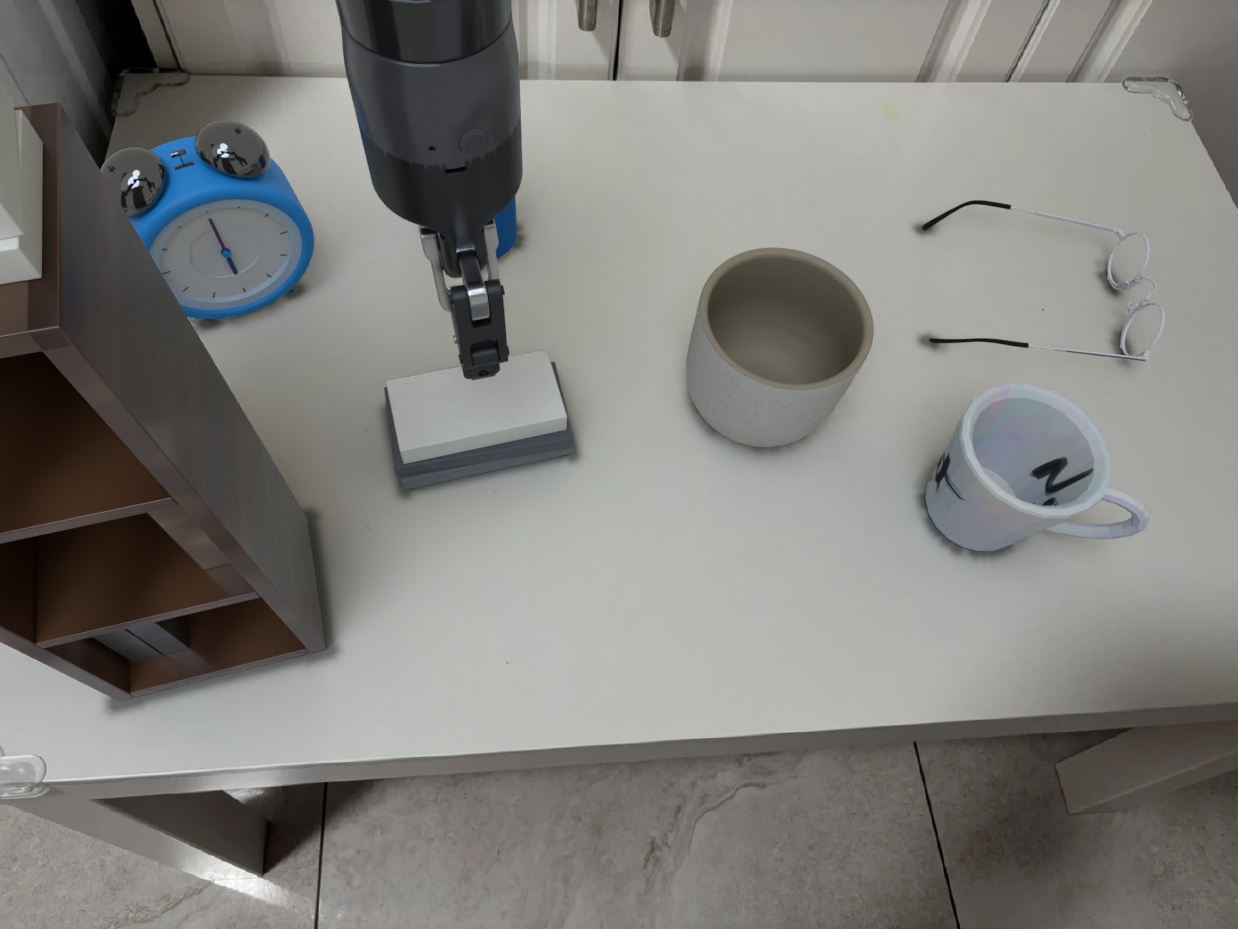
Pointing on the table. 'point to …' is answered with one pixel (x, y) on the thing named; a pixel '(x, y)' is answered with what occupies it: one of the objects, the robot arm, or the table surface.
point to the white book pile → (19, 195)
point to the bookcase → (132, 467)
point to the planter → (775, 345)
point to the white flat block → (475, 408)
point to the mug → (1025, 472)
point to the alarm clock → (215, 218)
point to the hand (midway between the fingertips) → (466, 316)
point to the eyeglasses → (1123, 286)
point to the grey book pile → (479, 454)
